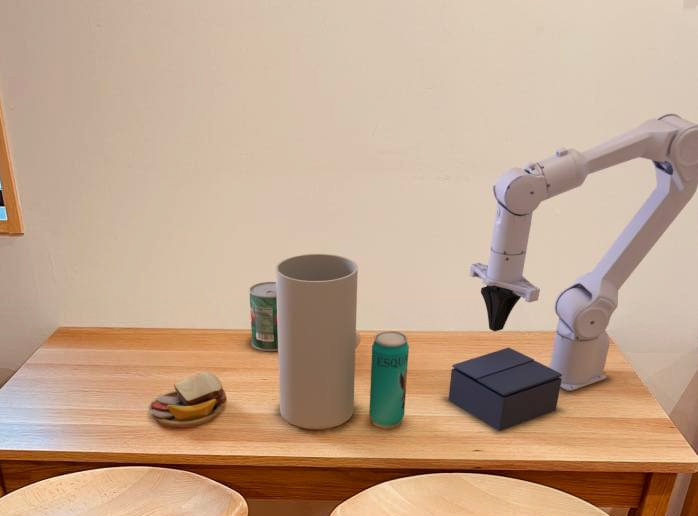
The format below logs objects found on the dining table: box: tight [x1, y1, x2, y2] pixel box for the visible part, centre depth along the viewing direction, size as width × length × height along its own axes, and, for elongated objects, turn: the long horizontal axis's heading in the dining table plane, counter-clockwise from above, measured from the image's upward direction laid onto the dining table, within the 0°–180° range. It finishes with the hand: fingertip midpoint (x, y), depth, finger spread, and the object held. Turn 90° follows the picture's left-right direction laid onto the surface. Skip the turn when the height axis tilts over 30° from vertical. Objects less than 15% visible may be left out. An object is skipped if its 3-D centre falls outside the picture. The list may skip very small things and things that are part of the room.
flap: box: [451, 347, 535, 380], centre depth 143 cm, size 6×13×1 cm, turn 121°
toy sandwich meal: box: [147, 371, 227, 428], centre depth 144 cm, size 12×14×5 cm
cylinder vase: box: [275, 253, 359, 430], centre depth 136 cm, size 12×12×25 cm
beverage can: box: [369, 330, 410, 430], centre depth 136 cm, size 6×6×15 cm
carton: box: [447, 360, 562, 432], centre depth 143 cm, size 13×13×7 cm
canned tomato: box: [248, 281, 278, 352], centre depth 164 cm, size 8×8×11 cm
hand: (496, 329), depth 145 cm, fingers closed
